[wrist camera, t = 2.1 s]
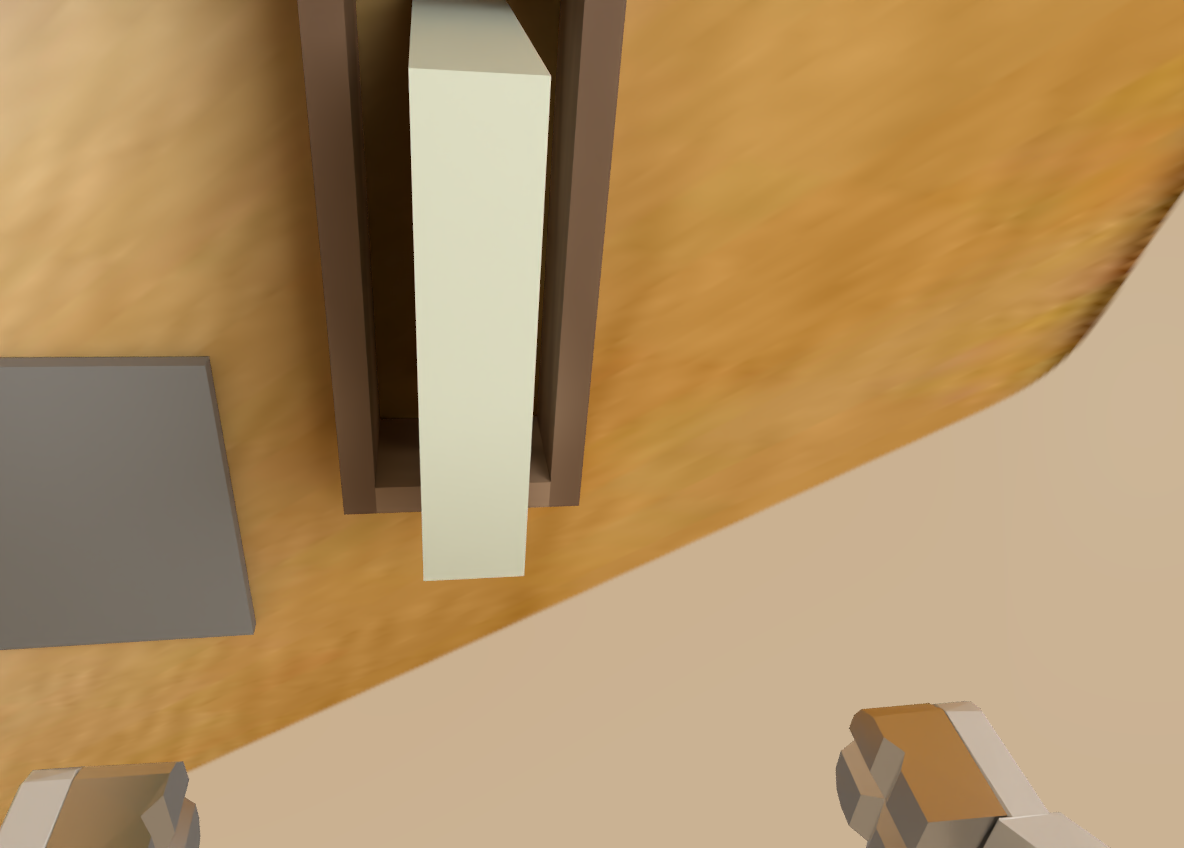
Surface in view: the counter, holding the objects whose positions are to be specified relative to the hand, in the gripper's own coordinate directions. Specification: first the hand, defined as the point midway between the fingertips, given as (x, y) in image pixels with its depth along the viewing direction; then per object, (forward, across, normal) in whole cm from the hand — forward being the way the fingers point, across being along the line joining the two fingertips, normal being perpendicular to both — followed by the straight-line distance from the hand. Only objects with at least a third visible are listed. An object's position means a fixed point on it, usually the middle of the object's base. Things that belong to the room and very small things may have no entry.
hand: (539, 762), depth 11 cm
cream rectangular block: (+20, 0, 0) cm, 20 cm away
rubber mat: (+19, +15, +11) cm, 27 cm away
